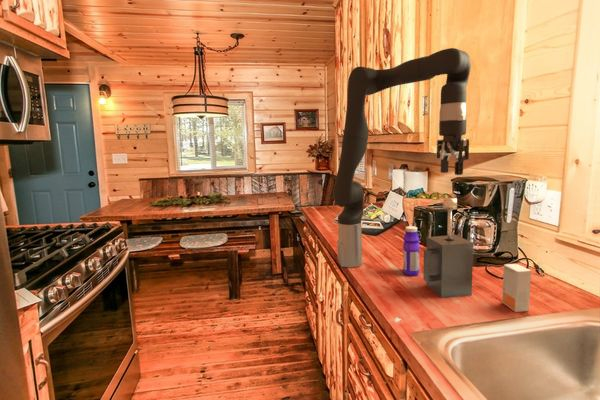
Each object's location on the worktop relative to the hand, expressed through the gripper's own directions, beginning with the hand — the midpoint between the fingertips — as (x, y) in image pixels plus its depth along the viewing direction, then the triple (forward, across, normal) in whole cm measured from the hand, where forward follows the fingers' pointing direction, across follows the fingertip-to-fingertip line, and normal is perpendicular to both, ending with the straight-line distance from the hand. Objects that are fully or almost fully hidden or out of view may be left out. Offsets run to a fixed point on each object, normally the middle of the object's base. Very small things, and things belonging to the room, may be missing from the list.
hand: (451, 173), depth 111 cm
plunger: (+27, 0, 0) cm, 27 cm away
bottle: (+38, -17, -5) cm, 42 cm away
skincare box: (+38, +15, +12) cm, 43 cm away
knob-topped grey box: (+38, 0, -2) cm, 38 cm away
